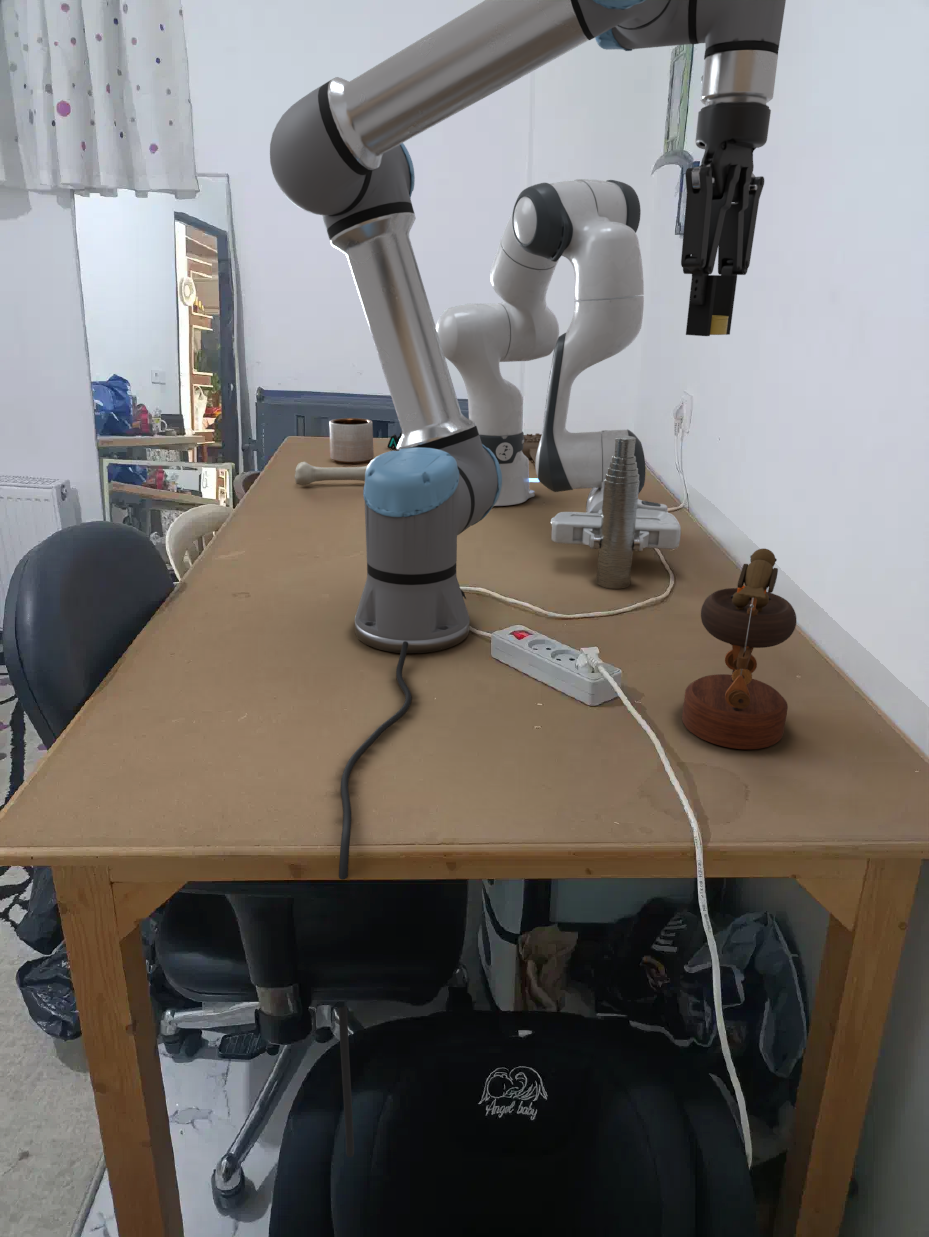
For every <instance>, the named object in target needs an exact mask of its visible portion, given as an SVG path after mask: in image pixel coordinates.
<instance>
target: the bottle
mask: <svg viewBox="0 0 929 1237" xmlns="http://www.w3.org/2000/svg"><path fill="white" fill-rule="evenodd" d="M635 441H636V438H635V437H632V436H617V437H616V439H615V453H614V455H613V456H612V461H610V466H609V467H608V472H606V478H605V480H604V493H603V505H602V518H601V530H600V543H599V544H600V549H598V556H597V558H598V559H597V568H596V569H597V570H596V584H597V585H598V586H599V587H602V588H605V589H612V590H621V589H626V588H628V587H629V586H630V584H631V576H632V575H631V574H632V566H633V562H632V561H633V553H634V551H633V543H634V534H635V523H636V513H637V502H638V499H639V494H638V492H639V474H638V468H637V462H635V460H636V457H635V456H634V451H635V443H636V442H635Z"/></svg>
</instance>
